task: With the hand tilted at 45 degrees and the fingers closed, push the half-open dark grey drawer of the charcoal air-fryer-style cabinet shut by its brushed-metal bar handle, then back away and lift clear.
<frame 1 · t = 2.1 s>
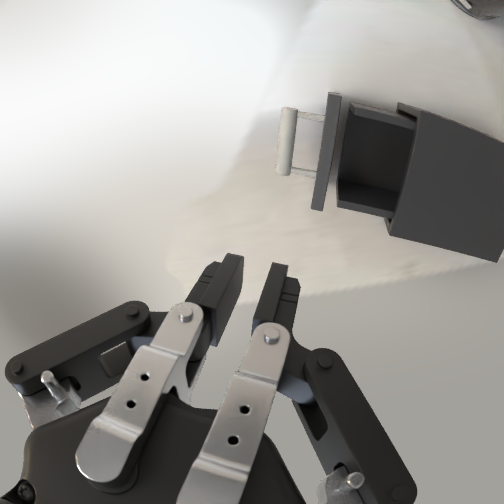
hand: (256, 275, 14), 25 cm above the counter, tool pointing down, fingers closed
dark grey drawer: (364, 154, 28), point 5 cm above the counter, slide at 7.0 cm
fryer: (440, 166, 30), on the counter
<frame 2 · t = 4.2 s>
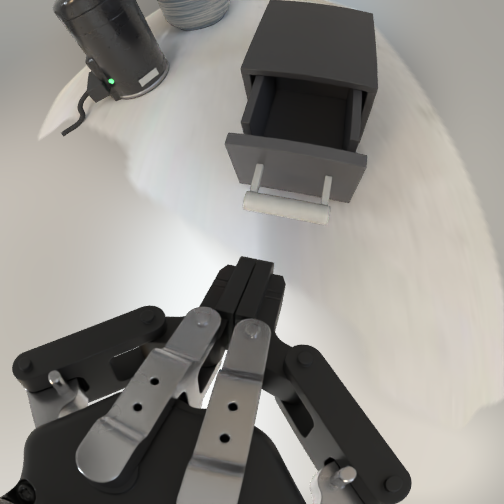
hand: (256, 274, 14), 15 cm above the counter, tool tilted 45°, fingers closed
dark grey drawer: (302, 134, 26), point 5 cm above the counter, slide at 7.0 cm
vase: (200, 18, 40), on the counter
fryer: (313, 89, 33), on the counter
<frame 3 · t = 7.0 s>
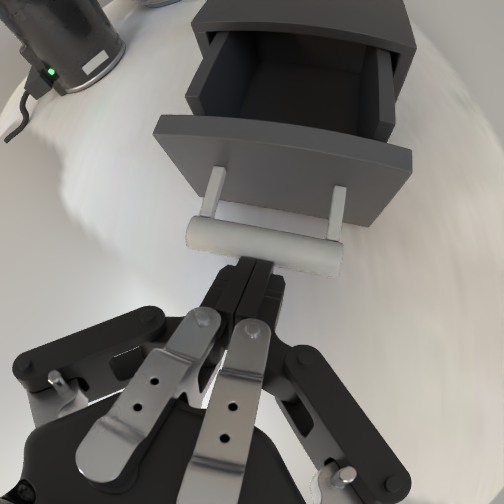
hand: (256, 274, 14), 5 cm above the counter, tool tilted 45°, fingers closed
dark grey drawer: (294, 116, 16), point 5 cm above the counter, slide at 6.5 cm, touching gripper
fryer: (311, 64, 22), on the counter
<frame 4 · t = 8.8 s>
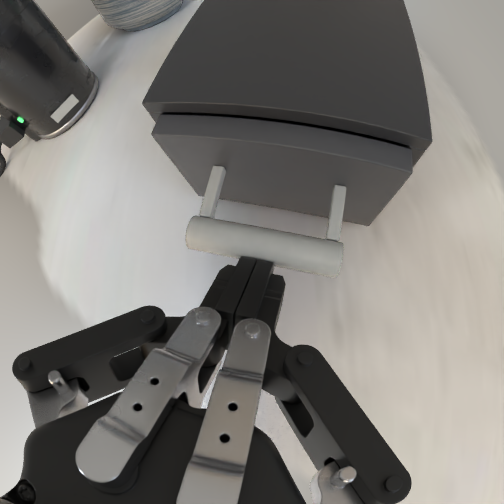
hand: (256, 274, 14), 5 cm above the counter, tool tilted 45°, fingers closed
dark grey drawer: (293, 115, 16), point 5 cm above the counter, slide at 0.0 cm, touching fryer, gripper
vase: (151, 14, 28), on the counter
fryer: (301, 114, 21), on the counter
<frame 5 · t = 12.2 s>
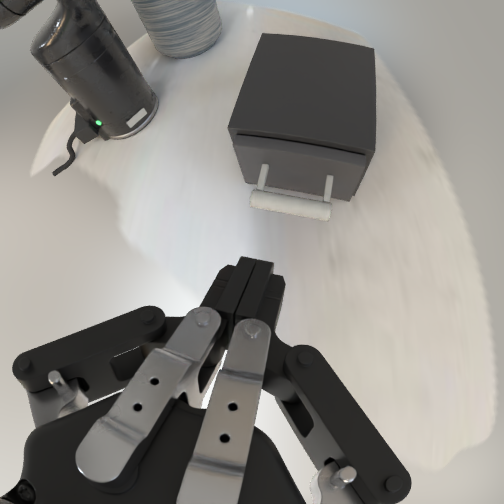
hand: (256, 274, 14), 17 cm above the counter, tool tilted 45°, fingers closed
dark grey drawer: (304, 136, 28), point 5 cm above the counter, slide at 0.0 cm
vase: (192, 44, 40), on the counter
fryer: (308, 132, 33), on the counter
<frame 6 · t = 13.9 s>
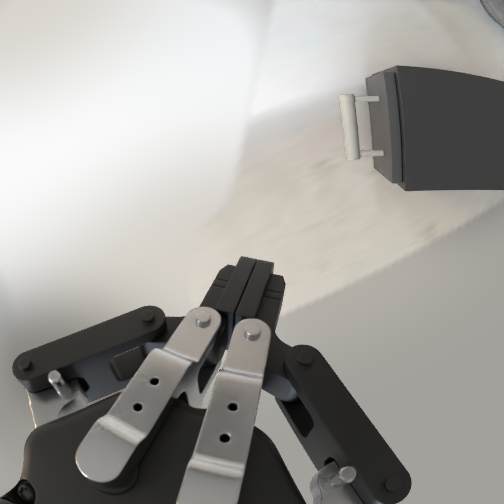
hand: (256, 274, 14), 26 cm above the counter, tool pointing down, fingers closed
dark grey drawer: (416, 125, 27), point 5 cm above the counter, slide at 0.0 cm
vase: (497, 3, 18), on the counter
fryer: (428, 123, 30), on the counter
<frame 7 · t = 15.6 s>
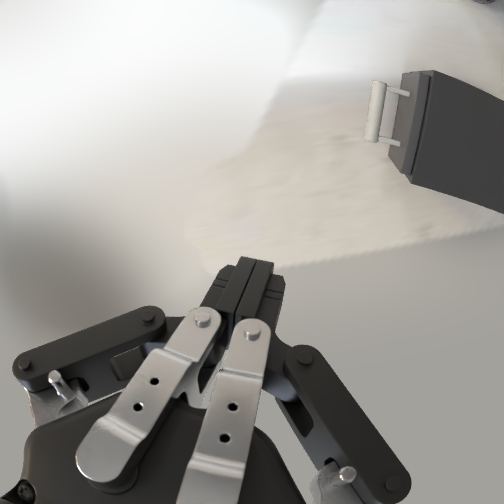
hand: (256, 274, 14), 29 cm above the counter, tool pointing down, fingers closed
dark grey drawer: (437, 129, 27), point 5 cm above the counter, slide at 0.0 cm
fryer: (450, 131, 30), on the counter
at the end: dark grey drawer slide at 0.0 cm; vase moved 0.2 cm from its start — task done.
